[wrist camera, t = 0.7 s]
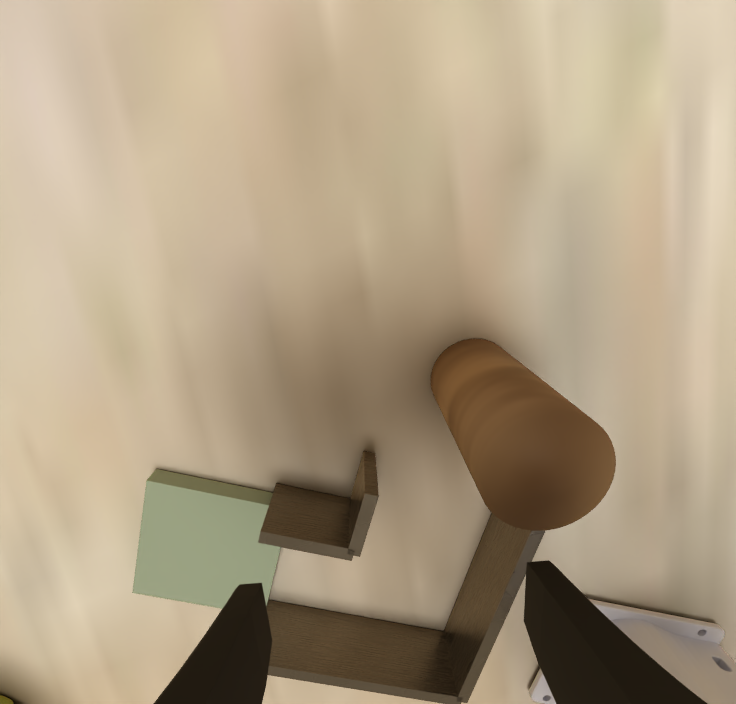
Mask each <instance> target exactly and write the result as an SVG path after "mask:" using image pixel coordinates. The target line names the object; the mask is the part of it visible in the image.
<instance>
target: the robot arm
mask: <svg viewBox="0 0 736 704" xmlns="http://www.w3.org/2000/svg"><path fill="white" fill-rule="evenodd" d="M524 622H525V625H526V628H527V631H528V634H529V637H530V641H531V644H532V646H533V649H534V652H535V655H536V658H537V661H538V663H539V666H540V670H539V672H538V674H537V675H536V677H535V679H534V681H533V683H532V685H531V687H530V689H529V694H530V696H531V699H532V700H533V701H535V702H539V703H545V704H736V663H735V662H734V661H733V659H732V658H731V657H730V656H729V655H728V654H727V653H726V651H725V650H724V649H723V648H722V647H721V646H720V645H719V644H720V642H721V641H722V639H723V638H724V636H725V631H724V630H723V629H722V628H721V627H720V626H719V625H718V624H715V623H710V622H704V621H699V620H694V619H689V618H684V617H679V616H674V615H669V614H663V613H658V612H653V611H648V610H643V609H638V608H633V607H628V606H623V605H617V604H612V603H607V602H602V601H597V600H592V599H588V598H587V597H586V596H585V595H584V594H583V593H582V592H581V591H580V590H579V589H578V588H577V587H575V586H574V585H573V584H572V583H571V582H570V581H569V580H568V579H567V578H566V577H565V575H564V574H563V573H562V572H561V571H560V570H559V569H558V568H557V567H555V566H554V565H553V564H552V563H551V562H550V561H537V562H527V566H526V588H525V609H524ZM271 646H272V636H271V630H270V625H269V619H268V614H267V608H266V603H265V597H264V592H263V586H262V583H251V584H239V585H238V587H237V588H236V589H235V590H234V592H233V593H232V595H231V597H230V598H229V600H228V601H227V603H226V604H225V606H224V607H223V609H222V610H221V612H220V613H219V615H218V616H217V618H216V619H215V621H214V622H213V624H212V625H211V627H210V628H209V629H208V631H207V632H206V634H205V635H204V637H203V638H202V640H201V641H200V642H199V644H198V645H197V647H196V648H195V649H194V651H193V652H192V654H191V655H190V656H189V658H188V659H187V661H186V662H185V663H184V665H183V666H182V667H181V669H180V670H179V672H178V673H177V674H176V675H175V677H174V678H173V679H172V681H171V682H170V683H169V685H168V686H167V687H166V688H165V690H164V691H163V692H162V694H161V695H160V696H159V697H158V699H157V700H156V701H155V703H154V704H262V700H263V696H264V692H265V687H266V681H267V675H268V668H269V661H270V654H271Z"/></svg>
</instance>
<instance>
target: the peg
mask: <svg viewBox="0 0 736 704" xmlns="http://www.w3.org/2000/svg"><path fill="white" fill-rule="evenodd" d="M431 389H432V392H433V395H434V397H435V399H436V401H437V403H438V405H439V408H440V410H441V412H442V414H443V416H444V418H445V420H446V422H447V424H448V427H449V429H450V431H451V433H452V435H453V437H454V439H455V441H456V444H457V446H458V448H459V450H460V452H461V454H462V456H463V458H464V460H465V463H466V465H467V467H468V469H469V471H470V473H471V475H472V477H473V479H474V482H475V484H476V486H477V488H478V490H479V492H480V494H481V496H482V498H483V500H484V502H485V504H486V506H487V507H488V509H489V510H490V511H491V512H492V513H493V514H494V515H495V516H496V517H497V518H499V519H500V520H501V521H503V522H505V523H506V524H509V525H511V526H513V527H516V528H520V529H524V530H533V531H542V530H551V529H556V528H560V527H563V526H566V525H568V524H571V523H573V522H575V521H577V520H579V519H580V518H582V517H583V516H585V515H586V514H588V513H589V512H590V511H591V510H592V509H594V508H595V507H596V506H597V505H598V503H599V502H600V501H601V500H602V499H603V497H604V496H605V495H606V493H607V491H608V489H609V488H610V485H611V483H612V480H613V477H614V473H615V466H616V458H615V451H614V447H613V445H612V442H611V440H610V438H609V436H608V434H607V433H606V432H605V431H604V429H603V428H602V427H601V426H600V425H598V424H597V423H596V422H595V421H594V420H592V419H591V418H590V417H589V416H587V415H586V414H585V413H583V412H582V411H581V410H580V409H578V408H577V407H576V406H575V405H573V404H572V403H571V402H569V401H568V400H567V399H566V398H564V397H563V396H562V395H561V394H559V393H558V392H557V391H555V390H554V389H553V388H552V387H550V386H549V385H548V384H547V383H545V382H544V381H543V380H541V379H540V378H539V377H538V376H536V375H535V374H534V373H533V372H531V371H530V370H529V369H527V368H526V367H525V366H524V365H522V364H521V363H520V362H519V361H517V360H516V359H515V358H513V357H512V356H511V355H510V354H508V353H507V352H506V351H505V350H503V349H502V348H501V347H499V346H498V345H496V344H495V343H493V342H491V341H488V340H484V339H467V340H463V341H460V342H457V343H455V344H453V345H451V346H450V347H448V348H447V349H446V350H445V351H444V352H443V353H442V354H441V355H440V356H439V357H438V359H437V360H436V362H435V364H434V366H433V369H432V373H431Z"/></svg>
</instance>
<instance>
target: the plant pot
mask: <svg viewBox="0 0 736 704" xmlns="http://www.w3.org/2000/svg"><path fill="white" fill-rule="evenodd" d="M0 704H13V701H12V700H11V699H9V698H7V697H5V696H2V695H0Z"/></svg>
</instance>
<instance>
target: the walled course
mask: <svg viewBox="0 0 736 704" xmlns="http://www.w3.org/2000/svg"><path fill="white" fill-rule="evenodd" d="M378 497H379V495H378V482H377V470H376V457H375V453H372V452H367V451H363V455H362V458H361V462H360V465H359V469H358V472H357V476H356V479H355V483H354V486H353V490H352V493H351V497H350V499H349V498H345V497H340V496H335V495H330V494H325V493H321V492H316V491H311V490H306V489H301V488H297V487H292V486H287V485H282V484H277V483H276V486H275V489H274V492H273V495H272V498H271V501H270V504H269V507H268V510H267V513H266V516H265V519H264V522H263V525H262V528H261V531H260V536H259V540H258V543H262V544H267V545H273V546H278V547H283V548H288V549H293V550H299V551H304V552H309V553H314V554H319V555H324V556H330V557H335V558H340V559H345V560H350V561H352V558H353V555H354V556H359V557H360V555H361V552H362V548H363V545H364V542H365V539H366V535H367V532H368V529H369V526H370V523H371V519H372V516H373V513H374V510H375V506H376V503H377V500H378ZM544 533H545V530H542V531H533V530H524V529H520V528H516V527H513V526H511V525H509V524H506V523H505V522H503V521H501V520H500V519H499V518H497V517H496V516H495V515H494V514H493V513H492V514H491V516H490V519H489V521H488V524H487V526H486V529H485V531H484V534H483V536H482V539H481V541H480V543H479V546H478V548H477V551H476V553H475V556H474V558H473V561H472V563H471V566H470V568H469V571H468V573H467V576H466V578H465V580H464V583H463V585H462V588H461V590H460V593H459V595H458V598H457V600H456V603H455V605H454V608H453V610H452V613H451V615H450V617H449V620H448V622H447V625H446V627H445V630H444V632H443V631H437V630H432V629H426V628H421V627H415V626H409V625H404V624H398V623H393V622H387V621H382V620H376V619H371V618H365V617H360V616H354V615H348V614H343V613H337V612H332V611H326V610H321V609H315V608H310V607H304V606H299V605H293V604H287V603H282V602H276V601H271V600H268V602H267V606H266V608H267V614H268V619H269V625H270V630H271V636H272V646H271V654H270V661H269V668H268V675H271V676H278V677H284V678H290V679H296V680H302V681H308V682H314V683H321V684H327V685H333V686H339V687H345V688H351V689H357V690H364V691H370V692H376V693H382V694H388V695H394V696H400V697H407V698H413V699H419V700H425V701H431V702H437V703H443V704H461V702H464V703H467V702H468V700H469V698H470V696H471V693H472V691H473V689H474V687H475V685H476V682H477V680H478V678H479V676H480V674H481V671H482V669H483V667H484V665H485V663H486V660H487V658H488V656H489V654H490V652H491V649H492V647H493V645H494V643H495V641H496V638H497V636H498V634H499V632H500V630H501V627H502V625H503V623H504V621H505V619H506V616H507V614H508V612H509V610H510V608H511V605H512V603H513V601H514V599H515V597H516V594H517V592H518V590H519V588H520V586H521V583H522V581H523V579H524V577H525V575H526V566H527V562H531V561H532V559H533V557H534V555H535V553H536V550H537V548H538V546H539V544H540V542H541V539H542V537H543V535H544Z"/></svg>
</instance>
